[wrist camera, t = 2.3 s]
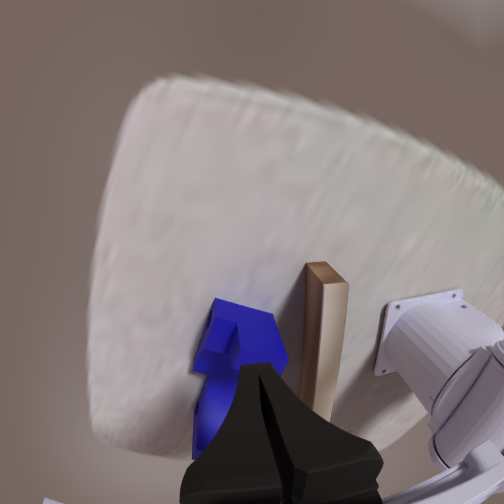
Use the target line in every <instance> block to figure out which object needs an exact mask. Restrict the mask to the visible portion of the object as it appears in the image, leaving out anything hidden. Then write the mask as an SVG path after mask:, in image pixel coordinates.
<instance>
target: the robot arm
mask: <svg viewBox="0 0 504 504" xmlns="http://www.w3.org/2000/svg"><path fill="white" fill-rule="evenodd" d="M452 295H453V296H452ZM462 298H463V290H462V289H455V290H450V291H445V292H440V293H435V294H430V295H425V296H420V297H414V298H409V299H403V300H397V301H392V302H390V303H388V305H387V307H386V312H385V318H384V324H383V330H382V335H381V340H380V345H379V350H378V355H377V359H376V364H375V368H374V374H375V376H381V375H385V374H389V373H392V372H396V371H397V372H398V374H399V375H400V376H401V378H402V379H403V380H404V381H405V383H406V384H407V385H408V387H409V388H410V389H411V390H412V392H413V393H414V394H415V396H416V397H417V398H418V400H419V401H420V402H421V403H422V405H423V406H424V407H425V409H426V410H427V411H428V413H429V414H430V415H431V420H430V421H429V423H428V424H427V426H428V427H429V429H430V430H431V431H432V433H433V435H432V436H431V437H430V440H429V443H428V449H429V454H430V457H431V460H432V463H433V464H434V466H435V468H436V469H437V470H438V471H439V473H440V474H438V475H436V476H434V477H432V478H430V479H428V480H426V481H424V482H422V483H419V484H417V485H415V486H413V487H410V488H408V489H406V490H404V491H401V492H399V493H396V494H393V495H391V496H389V497H386V498H383V499H381V497H380V495H379V493H378V491H377V489H378V487H379V486H378V483H377V481H376V478H377V476H378V474H379V473H380V471H381V469H382V467H383V459H382V457H381V455H380V454H379V452H378V451H377V449H376V448H375V447H374V445H373V444H372V443H371V442H370V441H367V440H365V439H362V438H359V437H357V436H354V435H352V434H350V433H348V432H346V431H343V430H341V429H340V428H338V427H336V426H335V425H333V424H331V423H330V422H328V421H326V420H325V419H324V418H322V417H321V416H319V415H318V414H317V413H315V412H314V411H313V410H312V409H310V408H309V407H308V406H307V405H306V404H305V403H304V402H303V401H302V400H301V399H299V398H298V397H297V396H296V394H295V393H294V392H293V391H292V390H291V389H290V388H289V387H288V386H287V384H286V383H285V382H284V381H283V379H282V378H281V377H280V375H279V374H278V373H277V371H276V370H275V368H274V367H273V365H272V363H270V362H265V363H255V364H244V365H241V366H240V375H239V381H238V385H237V389H236V392H235V396H234V398H233V401H232V403H231V406H230V408H229V411H228V413H227V415H226V417H225V419H224V421H223V423H222V425H221V426H220V428H219V430H218V431H217V433H216V435H215V436H214V438H213V439H212V440H211V442H210V443H209V444H208V446H207V447H206V448H205V449H204V451H203V452H202V453H201V454H200V455H199V456H198V458H197V459H196V460H195V461H194V462H193V463H192V464H191V465H190V466H189V467H188V468H187V470H186V472H185V475H184V477H183V480H182V484H181V489H180V501H179V502H180V504H280V503H281V504H480V503H481V502H483V501H484V500H486V499H487V498H488V497H489V496H490V495H492V494H496V493H500V492H503V491H504V332H503V330H502V329H501V327H500V326H499V325H498V324H497V323H496V322H494V321H493V320H491V319H490V318H489V317H487V316H486V315H484V314H483V313H482V312H480V311H479V310H477V309H476V308H474V307H473V306H471V305H470V304H468V303H467V302H465V301H464V300H462ZM397 305H398V307H397V308H396V306H397ZM43 504H65V503H62V502H59V501H56V500H53V499H50V498H45V499H44V502H43Z"/></svg>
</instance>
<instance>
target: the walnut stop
mask: <svg viewBox="0 0 504 504" xmlns="http://www.w3.org/2000/svg"><path fill="white" fill-rule="evenodd" d="M348 291H349V283H348V282H346V281H345V280H344V279H343V278H342V277H341V276H340V275H339V274H338V273H337V272H336V271H335V270H334V269H333V268H332V267H331V266H330V265H329V264H328V263H327V262H326V261H325V262H312V263H306V281H305V312H304V334H303V353H302V369H301V383H300V396H299V399H301V400H302V401H303V402H304V403H305V404H306V405H307V406H308V407H309V408H310V409H312V410H313V411H314V412H315V413H317V414H318V415H319V416H321V417H322V418H324V419H325V420H326V421H328V422H330V417H331V412H332V407H333V402H334V396H335V391H336V385H337V379H338V373H339V366H340V359H341V352H342V345H343V337H344V329H345V321H346V312H347V302H348Z"/></svg>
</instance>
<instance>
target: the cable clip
mask: <svg viewBox="0 0 504 504" xmlns="http://www.w3.org/2000/svg"><path fill="white" fill-rule="evenodd" d="M288 361H289V359H288V356H287V353H286V350H285V347H284V345H283V342H282V339H281V336H280V333H279V330H278V328H277V325H276V322H275V319H274V316H273V314H271V313H268V312H264V311H260V310H256V309H253V308H249V307H246V306H242V305H238V304H235V303H231V302H228V301H224V300H221V299H217V298H215V300H214V303H213V306H212V308H211V311H210V314H209V317H208V320H207V323H206V326H205V329H204V332H203V335H202V338H201V341H200V344H199V347H198V350H197V353H196V356H195V358H194V364H193V371H196V372H200V373H204V374H208V376H207V378H206V381H205V384H204V386H203V389H202V391H201V394H200V397H199V399H198V402H197V405H196V407H195V410H194V424H193V446H192V459H193V460H196V459H197V458H198V456H199V455H200V454H201V453H202V452H203V451H204V449H205V448H206V447H207V446H208V444H209V443H210V442H211V440H212V439H213V438H214V436H215V435H216V433H217V431H218V430H219V428H220V426H221V425H222V423H223V421H224V419H225V417H226V415H227V413H228V411H229V408H230V406H231V403H232V401H233V398H234V396H235V392H236V389H237V385H238V381H239V375H240V366H241V365H244V364H255V363H265V362H270V363H272V365H273V367H274V368H275V370H276V371H277V373H278V374H279V375H280V376H281V374H282V372H283V370H284V368H285V366H286V365H287V363H288Z"/></svg>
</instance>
